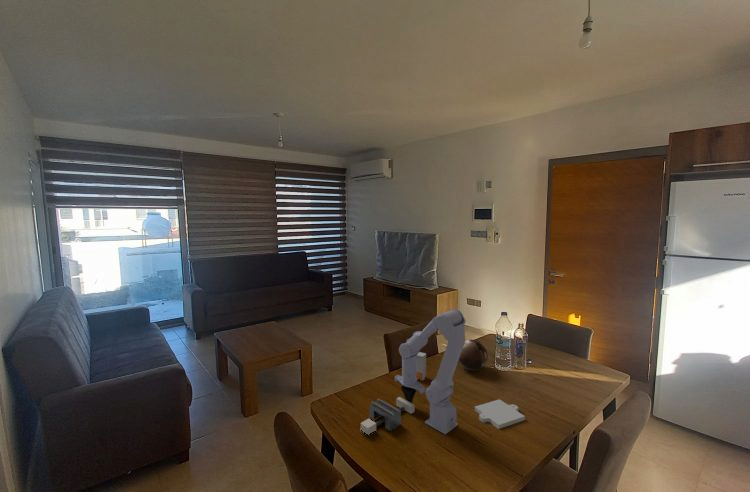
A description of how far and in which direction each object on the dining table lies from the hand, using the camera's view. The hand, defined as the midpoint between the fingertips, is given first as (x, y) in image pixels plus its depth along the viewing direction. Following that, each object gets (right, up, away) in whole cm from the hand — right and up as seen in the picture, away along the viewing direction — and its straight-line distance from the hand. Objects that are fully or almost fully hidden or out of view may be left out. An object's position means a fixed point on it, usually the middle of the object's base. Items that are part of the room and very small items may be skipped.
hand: (409, 403), depth 135 cm
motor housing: (-10, -3, -9) cm, 14 cm away
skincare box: (+7, 0, +25) cm, 26 cm away
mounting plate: (+34, -2, -6) cm, 35 cm away
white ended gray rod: (-10, -2, -9) cm, 14 cm away
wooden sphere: (+35, +2, +33) cm, 48 cm away
